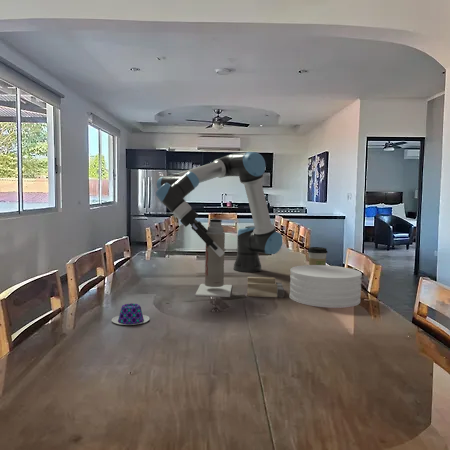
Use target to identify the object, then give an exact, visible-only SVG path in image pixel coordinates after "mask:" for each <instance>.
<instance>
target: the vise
mask: <svg viewBox="0 0 450 450" xmlns="http://www.w3.org/2000/svg"><path fill="white" fill-rule="evenodd" d="M246 291H247V292H246V293H247V296H246V297H259V298H260V297H261V298H262V297H263V298H285V289H284V285H283V283H282V282H277V281H276V277H265V276H264V277H262V276H261V277H260V276H258V277H257V276H247V289H246Z"/></svg>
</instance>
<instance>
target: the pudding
mask: <svg viewBox="0 0 450 450" xmlns="http://www.w3.org/2000/svg"><path fill="white" fill-rule="evenodd" d="M148 321H150V316H148V315H146V314H143V311H142V307H141V305H140V304H138V303H132V302H131V303H125V304H122V305H121V307H120V311H119V315H116V316H114V317H112V319H111V322H112V323H114V324H117V325H121V326H122V325H125V326H132V325H133V326H134V325H135V326H136V325H141V324H145V323H147V322H148Z"/></svg>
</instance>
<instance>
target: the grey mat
mask: <svg viewBox="0 0 450 450" xmlns="http://www.w3.org/2000/svg"><path fill="white" fill-rule="evenodd" d="M232 286H233V285H232V284H224V285H223V286H221V287H209V286H205V283H200V284H199V286H198V289H197V290H196V292H195V297H215V298H216V297H218V298H221V297H222V298H231V292H232Z"/></svg>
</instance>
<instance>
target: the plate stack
mask: <svg viewBox="0 0 450 450" xmlns="http://www.w3.org/2000/svg"><path fill="white" fill-rule="evenodd" d="M289 271H290V275H289V279H290V280H289V299H291V301H294V302H297V303H299V304H303V305H306V306H311V307H312V306H313V307H317V308H318V307H319V308H331V309H333V308H334V309H340V308H341V309H342V308H349V307H350V308H351V307H355V306H358V305H359V304H361V295H362V277H363V274H362V272H361V271H359V270H357V269H354V268H349V267H344V266H337V265H326V264H325V265H309V264H305V265H304V264H303V265H296V266H293V267H291V268H290V270H289Z"/></svg>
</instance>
